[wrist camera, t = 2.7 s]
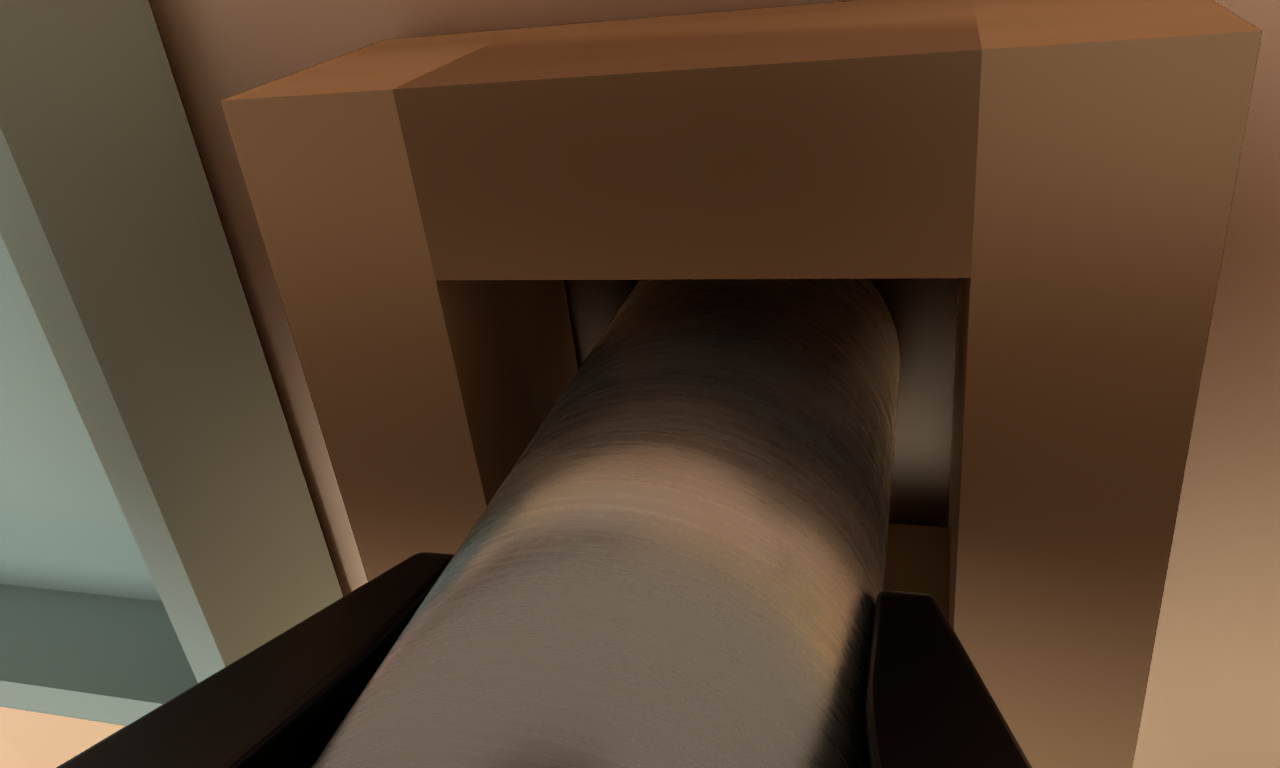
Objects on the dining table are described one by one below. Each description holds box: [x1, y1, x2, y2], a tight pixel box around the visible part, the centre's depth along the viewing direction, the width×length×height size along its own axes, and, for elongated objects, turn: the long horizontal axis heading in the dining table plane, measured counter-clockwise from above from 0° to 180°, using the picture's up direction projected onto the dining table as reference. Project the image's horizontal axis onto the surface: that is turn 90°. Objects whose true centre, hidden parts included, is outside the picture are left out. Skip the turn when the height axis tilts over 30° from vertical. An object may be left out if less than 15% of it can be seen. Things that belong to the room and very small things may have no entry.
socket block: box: [220, 0, 1262, 768], centre depth 10 cm, size 8×8×3 cm
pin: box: [311, 279, 900, 768], centre depth 8 cm, size 3×3×8 cm
